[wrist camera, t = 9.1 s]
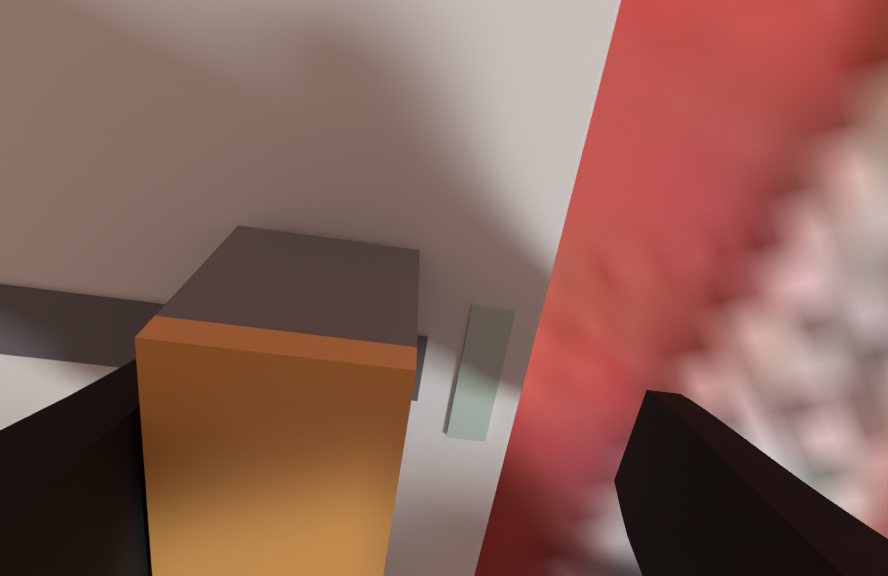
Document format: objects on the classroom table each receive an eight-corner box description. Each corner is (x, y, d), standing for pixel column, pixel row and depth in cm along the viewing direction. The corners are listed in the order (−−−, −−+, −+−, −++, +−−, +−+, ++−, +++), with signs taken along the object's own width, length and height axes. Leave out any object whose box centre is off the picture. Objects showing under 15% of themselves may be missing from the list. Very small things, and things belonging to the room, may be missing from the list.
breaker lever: (419, 250, 10) (416, 370, 6) (385, 476, 12) (370, 657, 8) (237, 225, 9) (134, 337, 6) (235, 462, 12) (157, 642, 8)
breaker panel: (591, -14, 10) (766, -52, 5) (419, 721, 19) (416, 986, 14) (-504, -216, 9) (-1949, -585, 3) (-132, 688, 18) (-370, 971, 12)
